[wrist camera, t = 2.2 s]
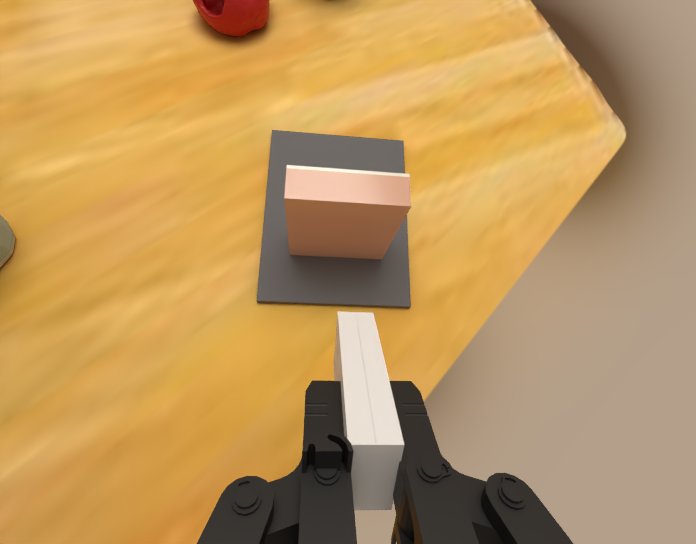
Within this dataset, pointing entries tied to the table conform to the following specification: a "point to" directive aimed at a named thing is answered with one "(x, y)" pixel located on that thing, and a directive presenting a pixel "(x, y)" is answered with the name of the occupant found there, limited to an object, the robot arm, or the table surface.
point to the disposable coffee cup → (5, 241)
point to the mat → (329, 272)
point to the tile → (344, 211)
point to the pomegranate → (234, 15)
